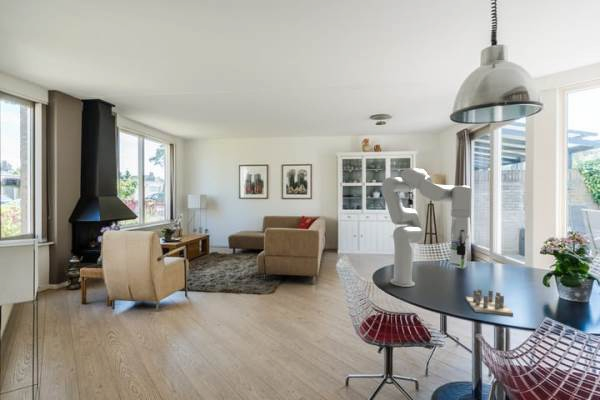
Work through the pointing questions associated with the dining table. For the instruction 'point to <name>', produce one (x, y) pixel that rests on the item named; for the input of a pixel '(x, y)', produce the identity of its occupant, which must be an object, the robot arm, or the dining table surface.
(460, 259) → the syrup box
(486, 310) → the pin tray
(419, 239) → the robot arm
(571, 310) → the dining table surface
